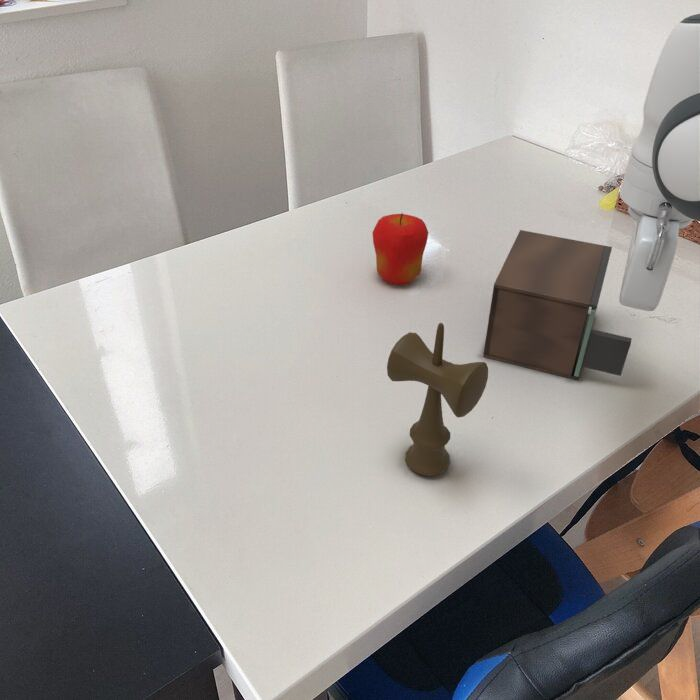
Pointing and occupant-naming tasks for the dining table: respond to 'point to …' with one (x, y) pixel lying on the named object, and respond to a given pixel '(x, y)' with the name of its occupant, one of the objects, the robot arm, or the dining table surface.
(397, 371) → the kendama
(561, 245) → the cabinet
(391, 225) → the apple
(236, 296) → the dining table surface
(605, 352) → the door
